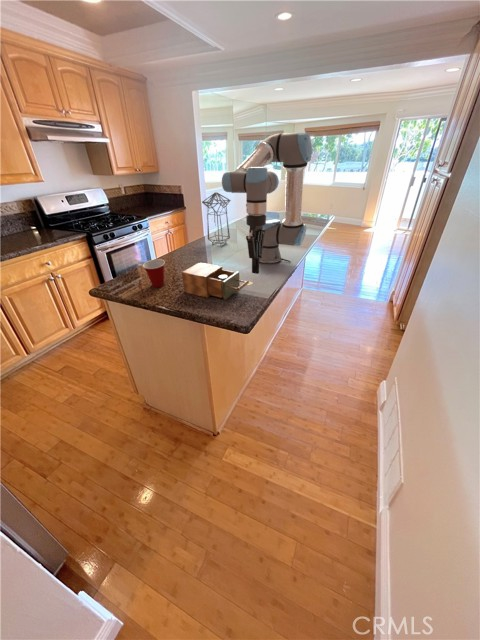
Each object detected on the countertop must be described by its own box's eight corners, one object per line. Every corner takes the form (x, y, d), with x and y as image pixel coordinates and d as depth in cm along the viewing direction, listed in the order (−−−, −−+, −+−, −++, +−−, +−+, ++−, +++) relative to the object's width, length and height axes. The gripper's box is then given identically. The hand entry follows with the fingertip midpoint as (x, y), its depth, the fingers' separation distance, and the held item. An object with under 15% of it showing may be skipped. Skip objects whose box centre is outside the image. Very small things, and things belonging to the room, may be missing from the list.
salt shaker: (220, 287, 129) (219, 274, 125) (229, 288, 128) (228, 274, 125) (218, 291, 125) (217, 278, 121) (227, 292, 124) (226, 278, 121)
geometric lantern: (222, 248, 188) (219, 194, 170) (204, 246, 195) (199, 193, 176) (233, 243, 200) (232, 191, 181) (216, 240, 206) (212, 190, 188)
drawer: (250, 290, 127) (251, 273, 123) (237, 302, 118) (237, 284, 113) (218, 284, 135) (217, 267, 130) (203, 294, 125) (201, 277, 121)
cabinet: (223, 286, 135) (222, 266, 129) (207, 297, 124) (205, 276, 119) (201, 281, 140) (199, 262, 135) (184, 292, 130) (181, 272, 124)
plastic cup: (142, 288, 135) (137, 265, 128) (155, 279, 143) (151, 258, 137) (160, 291, 131) (156, 267, 125) (173, 282, 140) (169, 260, 134)
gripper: (254, 210, 107) (254, 266, 120) (239, 216, 98) (240, 276, 110) (272, 211, 104) (269, 269, 117) (257, 217, 95) (256, 279, 107)
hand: (255, 272), depth 113 cm, fingers closed
